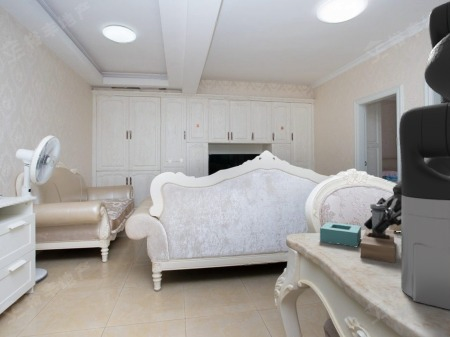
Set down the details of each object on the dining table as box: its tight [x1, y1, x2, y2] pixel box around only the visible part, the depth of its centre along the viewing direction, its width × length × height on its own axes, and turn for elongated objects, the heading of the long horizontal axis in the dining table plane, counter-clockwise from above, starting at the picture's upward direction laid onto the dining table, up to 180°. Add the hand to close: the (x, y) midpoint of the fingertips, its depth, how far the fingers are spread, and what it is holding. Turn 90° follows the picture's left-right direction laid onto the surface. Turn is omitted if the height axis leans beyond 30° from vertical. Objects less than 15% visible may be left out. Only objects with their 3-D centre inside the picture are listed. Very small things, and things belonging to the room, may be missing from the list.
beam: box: [360, 227, 396, 264], centre depth 68 cm, size 20×7×4 cm, turn 146°
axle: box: [370, 203, 387, 239], centre depth 68 cm, size 4×4×12 cm
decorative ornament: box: [388, 224, 401, 231], centre depth 86 cm, size 4×8×5 cm, turn 120°
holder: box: [319, 221, 362, 247], centre depth 76 cm, size 10×10×4 cm
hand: (371, 229), depth 68 cm, fingers open, 4 cm apart
